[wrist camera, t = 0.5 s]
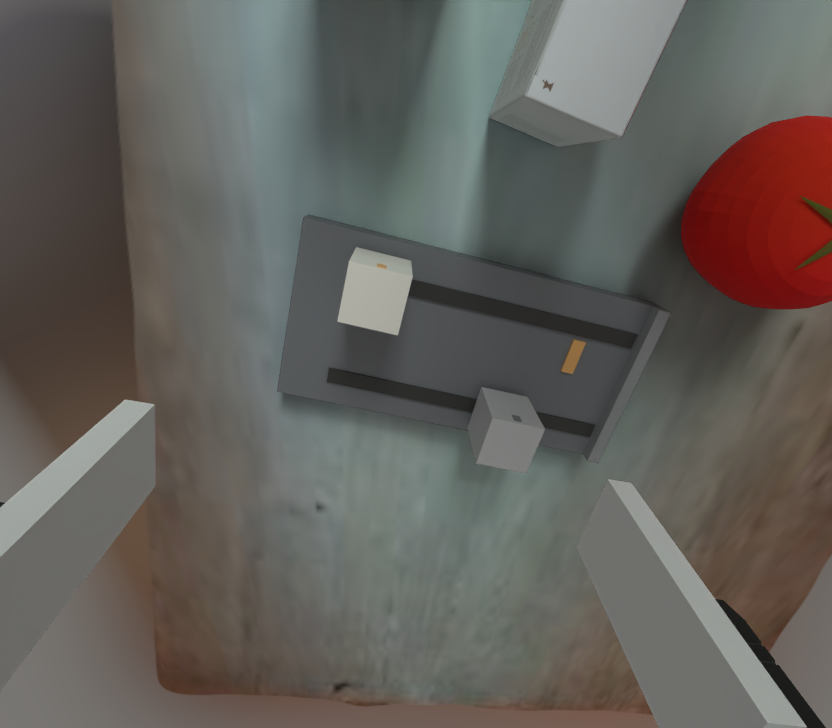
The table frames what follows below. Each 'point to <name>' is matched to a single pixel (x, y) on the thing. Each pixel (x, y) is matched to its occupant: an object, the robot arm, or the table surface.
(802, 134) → the tomato
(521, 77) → the small box
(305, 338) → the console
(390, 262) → the block
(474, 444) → the fader
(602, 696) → the table surface
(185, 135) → the table surface
